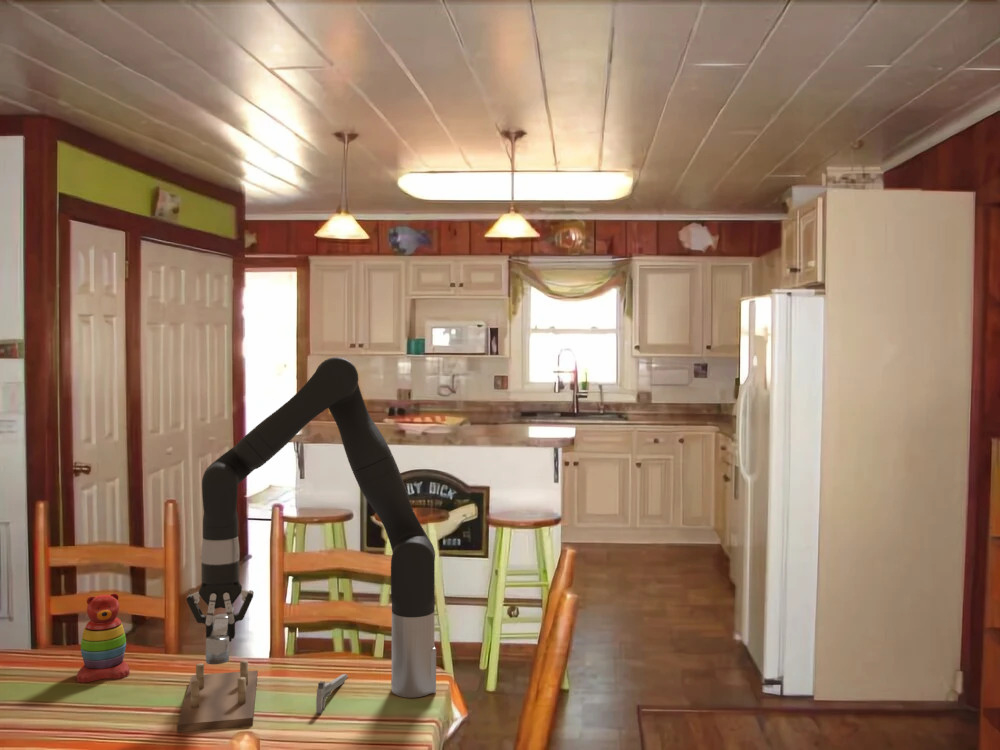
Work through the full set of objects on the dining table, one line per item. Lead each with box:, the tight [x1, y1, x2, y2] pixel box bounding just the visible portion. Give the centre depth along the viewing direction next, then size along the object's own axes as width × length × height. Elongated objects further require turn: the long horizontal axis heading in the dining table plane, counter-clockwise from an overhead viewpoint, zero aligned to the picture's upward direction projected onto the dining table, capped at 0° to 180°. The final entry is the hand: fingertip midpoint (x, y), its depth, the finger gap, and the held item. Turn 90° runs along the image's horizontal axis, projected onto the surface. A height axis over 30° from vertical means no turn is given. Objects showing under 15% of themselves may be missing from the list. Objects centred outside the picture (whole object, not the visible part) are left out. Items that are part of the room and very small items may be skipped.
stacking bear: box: [76, 593, 131, 684], centre depth 198 cm, size 11×10×18 cm
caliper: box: [315, 673, 349, 715], centre depth 187 cm, size 20×1×6 cm, turn 175°
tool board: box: [176, 659, 259, 733], centre depth 182 cm, size 14×26×6 cm, turn 14°
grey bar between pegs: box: [205, 613, 230, 665], centre depth 182 cm, size 4×20×4 cm, turn 13°
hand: (220, 640), depth 182 cm, fingers closed on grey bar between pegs, 3 cm apart
